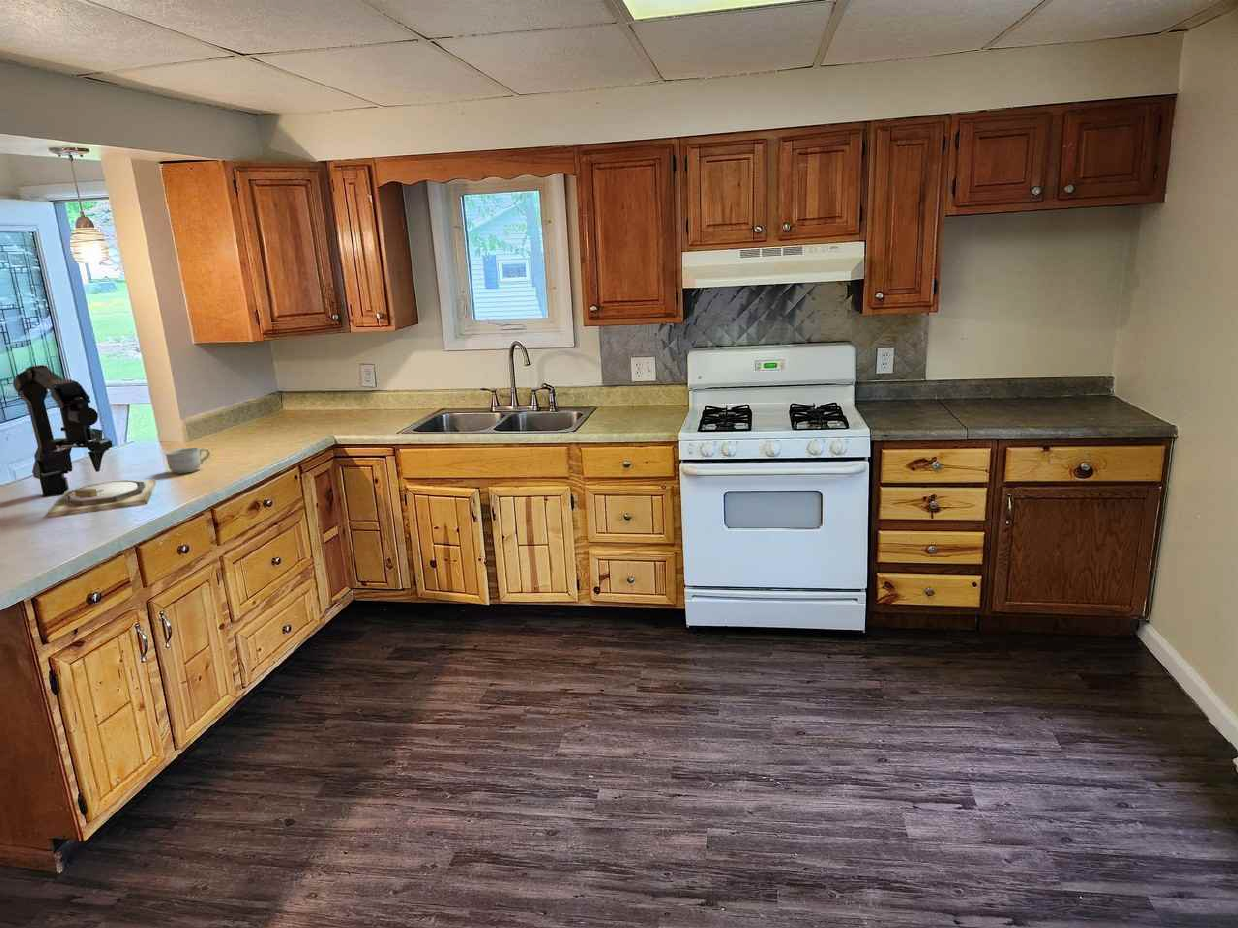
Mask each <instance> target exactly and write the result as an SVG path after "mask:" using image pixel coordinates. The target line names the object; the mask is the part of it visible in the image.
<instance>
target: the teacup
mask: <svg viewBox="0 0 1238 928" xmlns="http://www.w3.org/2000/svg"><path fill="white" fill-rule="evenodd" d="M204 451H205V452H206V456H204V457H203V458H201V455H202V452H204ZM210 455H211V451H210V449H208V448H206V447H202V448H201V447H200V448H199V447H188V448H186V447H185V448H180V449H175V450H170V451H167V452H166V453H165V456H166V461H167V464H168V468H169V469H170V471H172V472H173V473H176V474H186V473H193V472H196V471H197V470H198V469H199V468H200V466H201V465H203V463H204V462H205V461H206V460H208V459H209V457H210Z"/></svg>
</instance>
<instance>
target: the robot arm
mask: <svg viewBox="0 0 1238 928" xmlns="http://www.w3.org/2000/svg"><path fill="white" fill-rule="evenodd" d="M12 385H13V388H14V390H15V391H16V392H17V393H16V394H17V396H18V397H19V398H20V399H21V400H23V401H24V403H25V404H26V406H27V410H28V415H29V416H30V417H29V418H30V422H31V426H32V429H33V434H34V436H35V441H36V445H37V448H36V450H35V453H34V456H33V457H34V463H33V467H32V470H31V472H32V476H33V478H35V479H37V480H39V482H40V486H41V487H40V488H41V490H42V494H41V497H43V498H44V497H49V496H57V495H58V496H59V495H63V494H64V492H65V491H69V489H70V488H69V484H68V482H69V481H68V479H67V477H66V476H65V474H68V473H71V472H73V463H72V457H71V452H72V449H74V448H75V449H77V448H78V449H79V448H80V449H81V448H84V449H85V448H86V449H87V450H88V452H87V454H88V457H89V459H90V462H91V464H92V467H93V469H94V470H95V472H97V473H98V472H100V470H101V465H102V462H103V461H102V460H103V456H104V454H105V453H106V452H107V451H109V450H110V448H113V447H114V444H113V441H112V440H111V439H110V438H108V437H107V438H103V432H104V431H103V429H98V428H97V429H96V428H91V426H93V425H95V424H96V423H97V422H98V420H99V414H98V412H97V411H96V409H94V408H93V407H90V405H89V404H91V400H90V395H89V394H88V393H87V391H86V390H85V389H84V387H83V386H82V384H80V382H79V381H77V380H73V379H67V378H66V379H65V378H62V377H61V376H59V375H57V374H56V373H55V372H53V371H52V370H50V369H49V368H48V366H47V365H44V364H43V365H31V366H29V367H26V369H25V370H24V371H22V372H20V373H19V374H17V375H16V376H15V378H14V379H13V384H12ZM48 390H49V391H50V395H51V398H52V399H53V400H54V401H55V403H56V404H57V408H58V409H59V413H60V416H61V421H62V427H60V429H59V430H60V432H64V435H65V438H63V437H62V438H57V437H56V438H54V434H53V430H52V427H51V422H50V419H49V418H50V417H49V414H48V411H47V407H46V404H45V400H46V398H47V395H48V393H49V391H48Z"/></svg>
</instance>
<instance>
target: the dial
mask: <svg viewBox="0 0 1238 928" xmlns="http://www.w3.org/2000/svg"><path fill="white" fill-rule="evenodd" d="M111 482H112V483H108V482H104V483H105V484H100V483H98V484H99V485H94V484H93V485H94V486H90V485H88V486H89V487H86V486H84V487H85V488H83V487H81V488H82V489H80V488H77V489H78V490H76V489H74V490H75V491H74V492H72V493H71V494H70V495H69V496H70V499H75V500H91V499H98V498H106V497H113V496H117V495H120V494H123V493H126V492H130V491H133V490H136V489H137V488H138V486H137V484H136V483H133V482H116V481H111Z"/></svg>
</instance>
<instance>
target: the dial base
mask: <svg viewBox="0 0 1238 928" xmlns="http://www.w3.org/2000/svg"><path fill="white" fill-rule="evenodd" d="M112 482H113V481H110V482H109V481H108V482H107V483H112ZM115 482H133V483H136V484H137V486H138V488H137V489H136V490H133V491H130V492H126V493H123V494H120V495H117V496H113V497H106V498H98V499H91V500H75V499H70V496H69V495H70V494H71V493H72V492H74V491H75V490H78V489H82V488H85V487H89V486H94V485H99V484H105V483H106V482H101V483H96V484H90V485H86V486H84V487H79V488H76V489H72V490H68V491H65V492H64V494H61V496H60V497H59V498H58V499H57V501H56V502H55V503H54V505H53V506H52V507H51V508H50V509H49V511H47V514H48V515H47V516H48V518H54V517H62V516H69V515H77V514H86V513H90V512H99V511H106V510H112V509H119V508H121V509H122V508H129V507H135V506H140V505H147V504H149V500H150V498H151V496H152V494H153V492H154V489H155V487H156V485H157V482H156V479H150V480H142V481H135V480H119V481H118V480H116V481H115Z"/></svg>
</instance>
